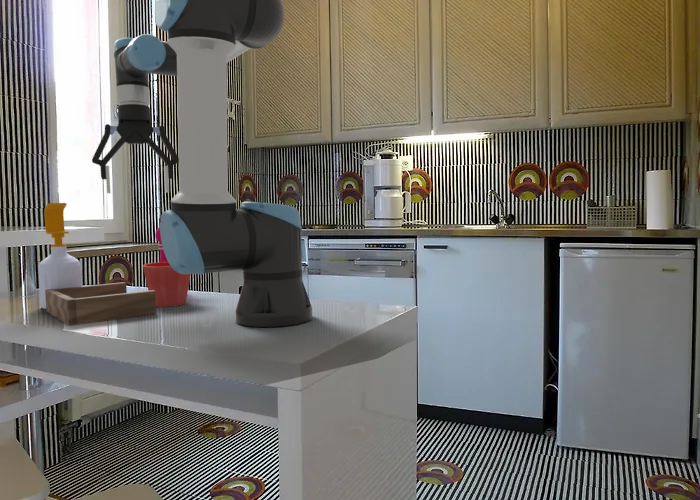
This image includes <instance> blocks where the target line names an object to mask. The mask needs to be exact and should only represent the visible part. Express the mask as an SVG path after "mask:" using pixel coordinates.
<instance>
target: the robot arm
mask: <svg viewBox="0 0 700 500" xmlns="http://www.w3.org/2000/svg"><path fill="white" fill-rule="evenodd" d="M154 1H155V2H154V19H155V25H156V27H157V28H158V29H160V30H161V31H162V32H166V34H167V37H166V39H167V40H166V41H163V40H161V39H160V38H158V37H157V36H155V35H153V34H149V33H146V34H145V33H143V34H140V35H138V36H135V38H133V37H123V38H119V39H117V40H115V42H114V52H113V58H114V66H115V67H114V69H115V79H116V80H115V81H116V82H115V83H116V102H117V104H118V106H117V121H118V124H117V125H116V126H115V125H110V124H108V123H107V124H105V125H104V133H103V135H102V138H101V139H100V142H99V144H98V146H97V147H96V151H94V154H93V156H92V159H91V162H92V163H93V164H94V165H98V166H99V167H100V178H101V179H102V180H105V181H106V182H105V183H106V192H107V193H106V194H111V178H110V165H107V164H108V163H109V162H110V160H111V159H112V158H113V157H114V156H115V155H116V154H117V152H118V151H119V150H120V149H121V148H122V147H123V146H124V144H125V143H126V144H128V145H144V144H147V145H148V146H149V148H151V150H152V151H154V153H155V154H156V155H157V156H158V157H159V158H160V159H161V161H162V162H164V164H165V165H164V166H163V172H164V173H163V174H164V175H163V176H164V192H165V193H170V180H173V178H174V171H173V169H174V168H173V167H174V166H175V165H177V164H178V182H179V184H178V185H179V188H178V189H179V191H178V192H177V193H176V194H175V195H174V196H173V197H172V198H171V200H170V209H167V210H166V211H163V212H162V214H161V215H160V223H159V227H160V235H161V241H162V246H163V249H164V253H165V255H166V258H167V260H168V262H169V264H170V266H171V267H172V268H173V269H174V270H175V271H176V272H178V273H180V274H190V275H200V276H202V275H204V274H211V273H212V274H213V273H222V272H224V273H225V272H234V271H242V272H243V274H242V275H243V281H242V282H243V283H242V286H241V291H240V293H239V298H238V301H237V304H236V309H235V323H236V324H238V325H241V326H246V327H256V328H257V327H258V328H261V327H262V328H264V327H265V328H266V327H267V328H271V327H272V328H273V327H274V328H275V327H285V326H295V325H300V324H303V323H306V322H310V321H311V320H313V308H312V304H311V300H310V298H309V295H308V293H307V289H306V287H305V284H304V280H303V256H302V255H303V254H302V253H303V251H302V231H303V227H302V221H301V214H300V212H299V210H298V209H297V208H296V207H295V206H291V205H287V204H286V205H285V204H279V203H273V202H271V203H270V202H258V201H243V202H241V204H240V206H239V209H238V208H237V200H236V198H234V197H233V196H232V195H231V193H230V192H229V191H228V190H229V189H228V188H229V186H228V185H229V182H228V181H229V180H228V179H229V178H228V177H229V175H228V173H229V172H228V171H229V170H228V81H227V80H228V79H227V78H228V66H227V65H228V63H229V62H231V61H233V60H234V59H236V58H238V57H239V56H241V55H242V54H244V53H245V52H247V51H249V50H251V49H252V50H259V49H261V48H264V47H266V46H267V45H269V44H271V43H272V42H274V41H275V39H276V38H278V36H279V35H280V33H281V32H282V29H283V26H284V22H285V9H284V4H283V1H282V0H154ZM149 74H151V75H152V74H153V75H162V76H170V77H176V81H177V82H176V83H177V84H176V86H177V87H176V88H177V89H176V90H177V91H176V92H177V129H178V130H177V133H178V134H177V135H178V138H177V139H178V154H177V152H176V151H175V148H174V147H173V145H172V144H171V142H170V140H169V138H168V135H167V134H166V129H165V126H164V125H160V126H153V125H152V119H151V118H152V117H151V108H150V107H149V105H150V104H151V101H150V100H151V98H150V96H151V95H150V81H149V79H150V77H149ZM115 132H117V133H118V135H119V136H120V138H119V139H118V140H117V141H116V143H115V144H114V145H113V147H111V148H110V150H109V151H108V153H106V155H105V156H104V157H103V158H102V159H100V157H101V156H102V153H103V152H104V149H105V148H106V145H107V143H108V141H109V140H110V136H111V135H112V136H113V135H114V133H115ZM153 133H155V134H156V135H157V136H159V137H160V140H161V141H162V143H163V145H164V147H165V148H166V150H167V152H168V154H169V155H170V157H171V159H170V158H169V157H168V155H166V154H165V152H164V151H163V150H162V149H161V148H160V147H159V146H158V145H157V144H156V143H155V141H154V140H153V139H152V138H151V136H152V135H153Z"/></svg>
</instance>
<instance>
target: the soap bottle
mask: <svg viewBox="0 0 700 500" xmlns="http://www.w3.org/2000/svg"><path fill="white" fill-rule="evenodd" d="M66 206H68V205H67V203H66V202H49V203H47V204H46V205H45V207H44V228H45V229H44V230H45V233H46V234H47V235H51V238H52V239H53V241H54V243H51V244H50V254H49V255H48V256H47V257H45V258H43V259H42V260H41V261H40V262H39V264H38V267H37V270H38V272H37V273H38V284H39V285H38V287H39V301H40V307H41V309H43V310H46V297H45V290H49V289H59V288H70V287H80V286H83V280H82V279H83V278H82V277H83V275H82V265H81V262H80V260H78V259H77V258H76V257H75V256H73V255H70V254H69V253H68V251H67V244H66V243H63V238H65V234H70V232H69V231H66V230H65V220H64V211H65V208H66Z"/></svg>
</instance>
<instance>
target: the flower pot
mask: <svg viewBox="0 0 700 500" xmlns="http://www.w3.org/2000/svg"><path fill="white" fill-rule="evenodd" d="M142 269H143V273H144V277H145V282H146V287H147V291H150V290H154V291H155V300H156V308H157V307H158V308H159V307H161V308H166V307H168V308H169V307H178V306H180V305H181V306H183V305H186V302H187V299H188V298H187V296H188V291H189V287H190V279H191V274H180V273H178V272H176V271H175V270H174V269H173V268H172V267H171V266H170V264H169V262H158V261H157V262H150V263H145V264H143V265H142Z"/></svg>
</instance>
